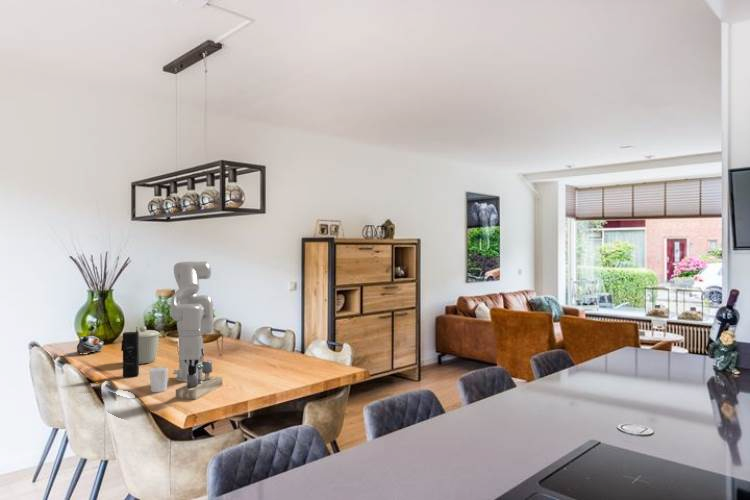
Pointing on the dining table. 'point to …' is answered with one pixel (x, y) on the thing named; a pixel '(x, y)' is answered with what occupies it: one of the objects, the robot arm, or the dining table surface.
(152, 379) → the white cup
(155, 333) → the canister
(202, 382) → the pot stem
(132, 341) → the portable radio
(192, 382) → the knob
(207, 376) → the knob
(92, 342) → the lucky cat figurine
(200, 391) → the mount panel
